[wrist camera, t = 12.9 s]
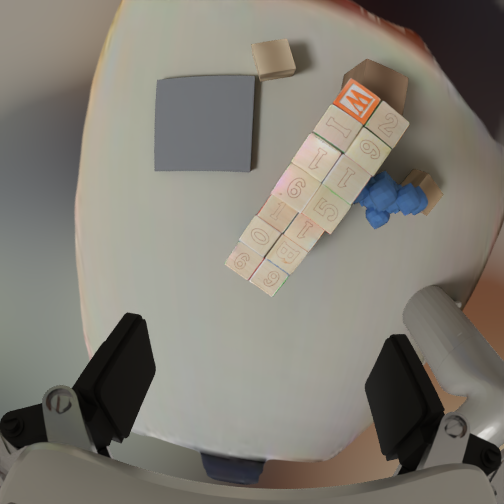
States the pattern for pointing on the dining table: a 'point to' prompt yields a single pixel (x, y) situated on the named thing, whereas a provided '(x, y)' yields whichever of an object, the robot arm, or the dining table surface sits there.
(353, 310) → the dining table surface
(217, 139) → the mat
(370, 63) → the walnut block
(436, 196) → the oak cube
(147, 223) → the dining table surface
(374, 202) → the grapes
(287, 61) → the maple cube
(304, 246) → the stack of blocks
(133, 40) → the dining table surface
